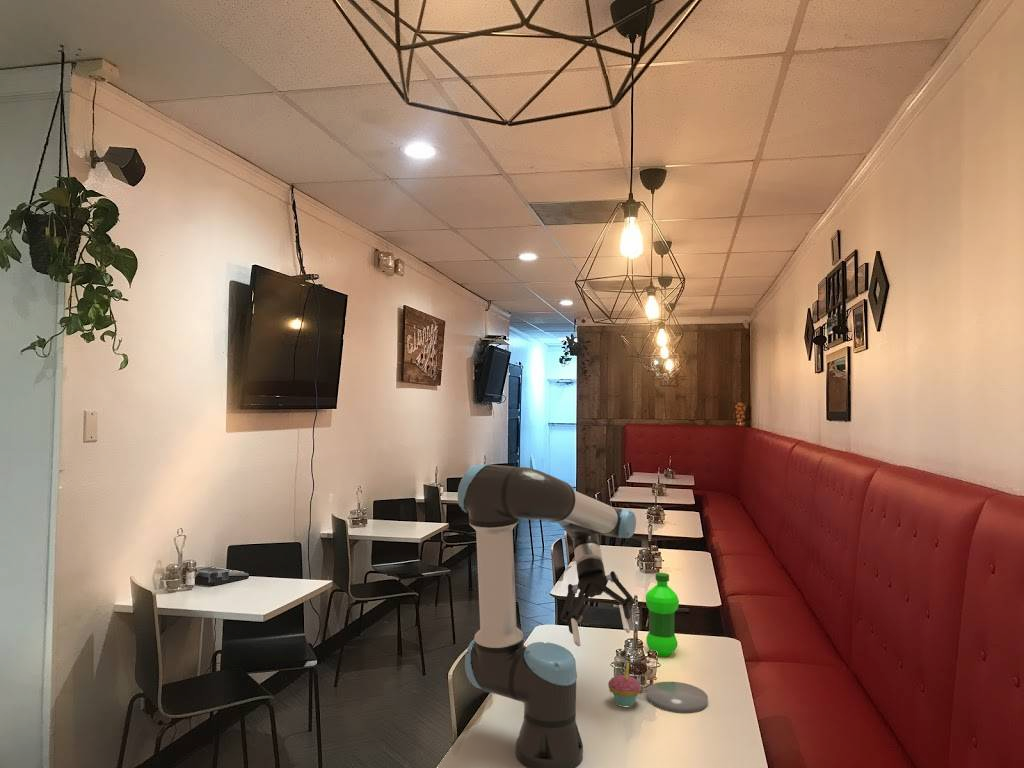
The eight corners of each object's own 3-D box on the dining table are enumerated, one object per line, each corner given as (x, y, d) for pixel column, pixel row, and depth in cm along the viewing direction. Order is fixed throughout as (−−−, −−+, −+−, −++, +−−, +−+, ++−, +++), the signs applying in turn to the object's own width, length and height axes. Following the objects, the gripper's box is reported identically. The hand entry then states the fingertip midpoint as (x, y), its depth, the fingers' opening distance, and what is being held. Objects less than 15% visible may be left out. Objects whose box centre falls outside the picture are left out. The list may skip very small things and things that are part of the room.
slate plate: (676, 718, 172) (676, 712, 172) (634, 694, 186) (634, 688, 186) (720, 704, 180) (720, 698, 181) (677, 682, 194) (677, 677, 194)
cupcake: (646, 708, 178) (647, 661, 178) (617, 712, 175) (618, 665, 175) (630, 694, 186) (630, 650, 186) (602, 699, 183) (602, 653, 183)
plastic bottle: (648, 645, 223) (649, 569, 224) (681, 651, 219) (682, 572, 220) (641, 656, 214) (642, 576, 215) (675, 661, 210) (675, 580, 211)
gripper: (636, 557, 189) (652, 630, 174) (554, 582, 196) (563, 654, 181) (627, 544, 184) (643, 619, 169) (543, 570, 191) (551, 644, 176)
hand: (601, 637), depth 175 cm, fingers open, 13 cm apart
